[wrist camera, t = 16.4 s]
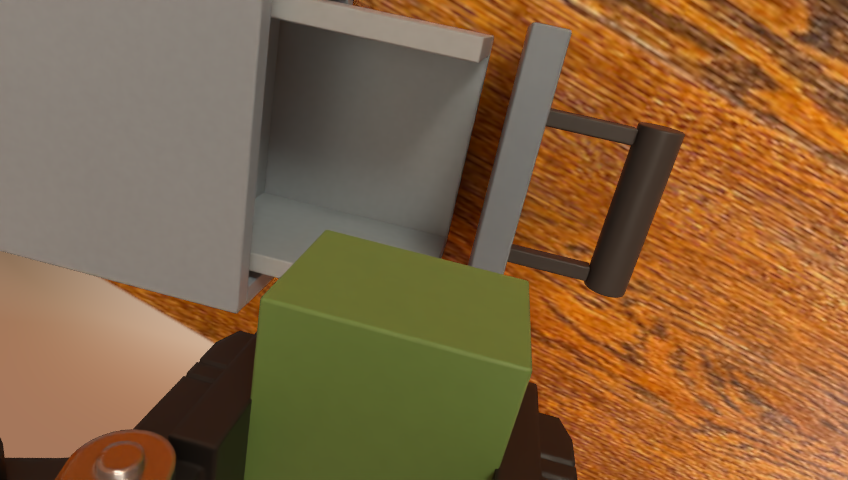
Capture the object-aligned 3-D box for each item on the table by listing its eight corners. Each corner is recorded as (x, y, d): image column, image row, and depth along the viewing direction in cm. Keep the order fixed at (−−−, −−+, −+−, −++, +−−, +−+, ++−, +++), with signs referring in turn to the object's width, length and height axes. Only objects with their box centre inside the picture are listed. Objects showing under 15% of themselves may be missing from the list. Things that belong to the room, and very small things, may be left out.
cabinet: (357, -26, 25) (266, -59, 16) (322, 230, 29) (237, 314, 21) (79, -85, 26) (-152, -147, 17) (88, 171, 30) (-89, 228, 22)
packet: (325, 227, 10) (258, 297, 7) (529, 279, 10) (534, 370, 7) (292, 457, 12) (231, 573, 10) (459, 505, 12) (442, 638, 9)
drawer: (674, 56, 23) (744, 66, 16) (590, 293, 27) (615, 386, 20) (278, -29, 24) (177, -55, 17) (257, 210, 29) (168, 269, 21)
